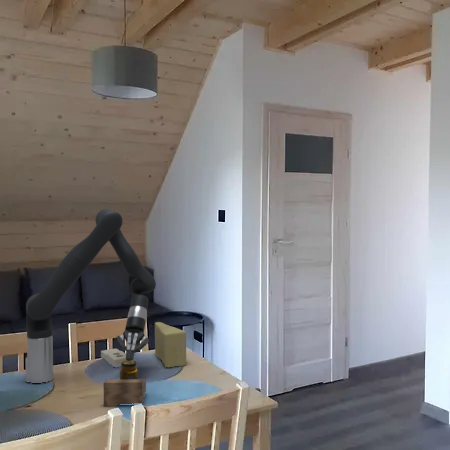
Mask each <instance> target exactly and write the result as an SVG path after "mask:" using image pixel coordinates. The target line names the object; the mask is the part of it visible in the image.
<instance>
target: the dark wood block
mask: <svg viewBox="0 0 450 450" xmlns="http://www.w3.org/2000/svg"><path fill="white" fill-rule="evenodd" d="M145 392H146V393H147V379H146V378H142V379H139V378H137V379H128V380H120V379H112V378H111V379H105V380H104V382H103V407H118V406H117V405H120V404H132V403H133V404H134V403H142V402H143V398H144V395H145ZM145 396H146V395H145ZM143 403H144V402H143Z"/></svg>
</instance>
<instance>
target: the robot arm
mask: <svg viewBox="0 0 450 450" xmlns="http://www.w3.org/2000/svg"><path fill="white" fill-rule="evenodd" d="M123 223H124V221H123V217H122V215H121V214H120V213H119V212H118V211H115V210H112V209H109V208H106V209H105V208H104V209H101V210H99V211H98V212H97V214H96V215H95V224H96V225H95V227H94V228H93V229H92V231H91V232H90V233H89V235H87V237H85V238H84V239H83V240H81V241H80V242H79V243H77V244H76V245H75V246H73V248H71V249H70V250H69V251H68V253H67V254H66V255H65V257H64V258H62V260H61V261H60V263H59V264H58V265H57V267H56V269H55V271H54V272H53V275H52V277H51V278H50V280H49V281H48V283H47V284H46V285H45V287H44V288H42V289H41V291H40V292H39V293H35V294H32V295H31V296H30V297H28V299H27V301H26V304H25V314H26V315H25V316H26V317H25V318H26V319H25V321H26V325H25V326H26V345H27V346H26V347H27V348H26V351H27V354H26V355H27V356H26V357H25V358H24V359H25V361H24V362H25V382H26V381H29V382H33V383H41V384H43V383H42V382H46V383H49V382H51V381H53V379H54V359H53V358H54V350H53V343H54V342H53V322H52V313H53V311H54V310H55V308H56V306H57V305H58V303H59V302H60V301H61V299H62V298H63V296H64V295H65V293H67V291H68V290H69V289H70V288H72V286H73V285H74V284H75V283H76V281H77V280H79V278H80V277H81V275H83V274H84V272H85V271H86V269H87V268H88V267H89V266H90V265H91V263H92V262H93V260H94V259H95V258H96V257H97V256H98V254H99V252H100V251H101V250H102V249H103V247H105V245H106V244H107V243H108V242H109V243H110V245H111V247H112V248H113V250H114V252H115V254H116V256H117V257H118V258H119V259H118V260H119V261H120V263H121V265H122V266H123V268H124V270H125V272H126V274H127V275H128V276H129V277H134V279H132V281H131V282H130V287H129V288H130V295H131V296H130V297H131V298H130V299H131V300H130V301H131V302H130V307H129V311H128V313H127V319H126V323H125V327H124V328H125V329H124V331H123V332H122V334H121V335H117V336H116V338H117V341H118V343H119V345H120V346H121V348H122V350H123V352H124V351H126V353H125V354H126V360H132V361H134V357H135V353H136V352H139V353H140V351H141V350H143V349H144V347H146V346H147V345H148V344H149V341H150V340H149V338H148V337H146V336H145V329H146V323H147V317H148V307H149V298H148V297H147V295H144V294H146V293H151V292H153V291H155V289H156V285H157V284H156V279H155V278H154V276H153V275H152V274H151V273H150V272H149V271H148V270H147V268H146V267H145V266H144V265H143V263H142V262H141V261H140V258H139V257H138V255H137V254H136V252H135V250H134V249H133V247H132V246H131V244H130V243H129V241H128V240H127V239H126V237H125V236H124V234H123V232H122V230H121V228H122V226H123ZM124 340H125V341H126V343H127V344H125V342H124ZM48 381H49V382H48Z"/></svg>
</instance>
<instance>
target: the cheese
mask: <svg viewBox="0 0 450 450" xmlns="http://www.w3.org/2000/svg"><path fill="white" fill-rule="evenodd" d="M154 354H155V356H158V357H159V358H160V359H161V360H162V361H161V360H160V359H159V358H158V357H157V358H158V359H159V360H160V361H161V362H162V363H164V364H163V365H164V367H165V368H166V367H173V366H179V367H184V366H186V365H187V332H186V331H185V330H183V329H180V328H177V327H174V326H172V325H171V326H170V325H168V324H166V323H164V322H161V321H156V322H154ZM173 368H174V367H173Z"/></svg>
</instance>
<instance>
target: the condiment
mask: <svg viewBox="0 0 450 450" xmlns="http://www.w3.org/2000/svg"><path fill="white" fill-rule="evenodd" d="M119 371H120V372H119V380H128V379H138V369H137V362H136V361H135V360H127V361H123V362H122V363H121V367H120V370H119Z"/></svg>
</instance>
